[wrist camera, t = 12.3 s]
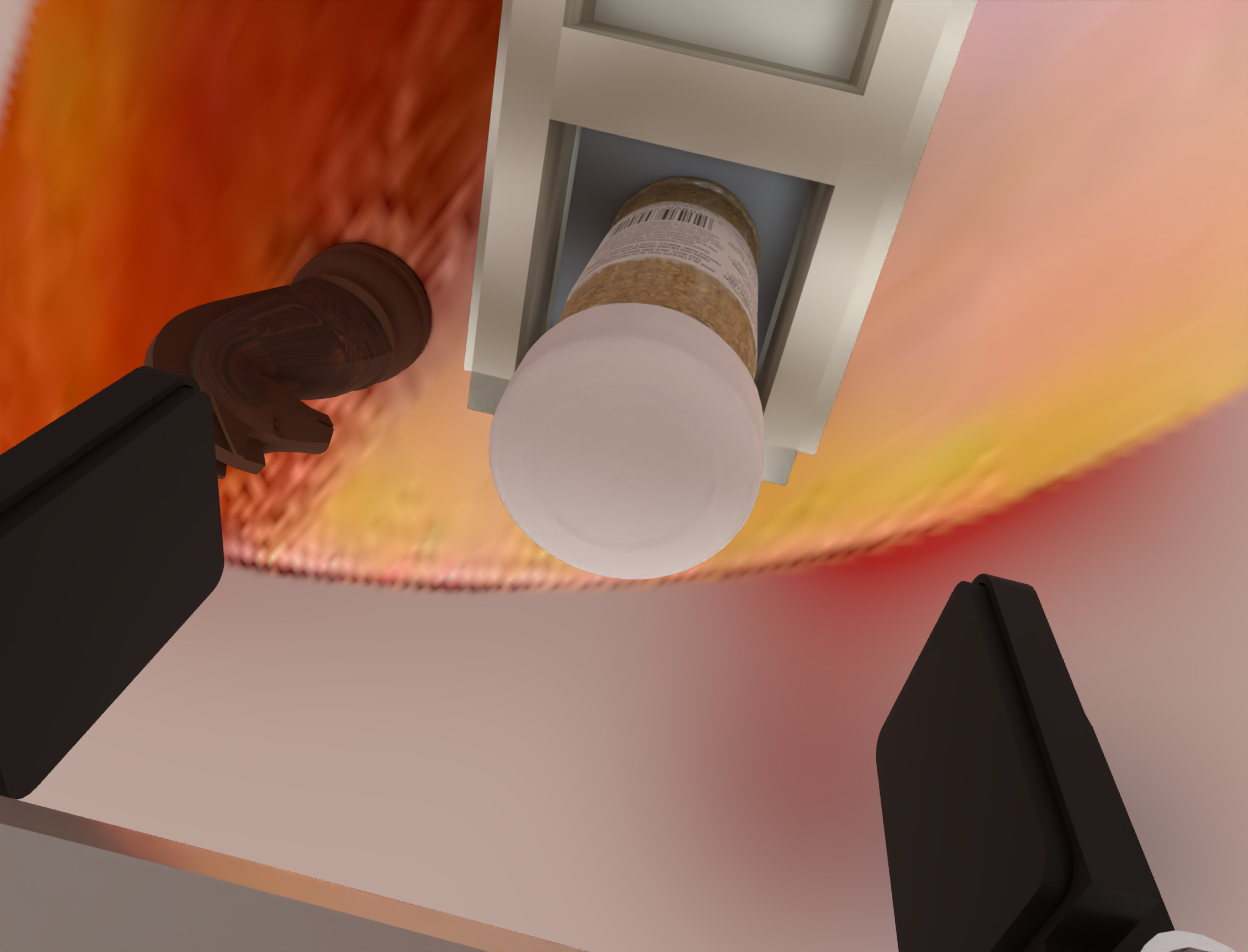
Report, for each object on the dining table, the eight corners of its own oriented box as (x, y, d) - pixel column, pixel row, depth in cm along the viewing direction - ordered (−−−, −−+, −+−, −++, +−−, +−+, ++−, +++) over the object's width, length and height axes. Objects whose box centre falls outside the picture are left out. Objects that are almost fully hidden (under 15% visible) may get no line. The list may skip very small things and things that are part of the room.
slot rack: (562, -450, 19) (503, -576, 15) (1088, -337, 19) (1182, -433, 15) (472, 358, 29) (422, 421, 25) (813, 441, 29) (821, 519, 25)
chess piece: (378, 396, 31) (227, 554, 22) (266, 291, 29) (58, 417, 21) (460, 315, 29) (328, 456, 20) (343, 200, 27) (148, 297, 19)
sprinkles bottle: (597, 307, 27) (468, 555, 15) (625, 154, 24) (497, 310, 13) (741, 340, 26) (723, 617, 15) (783, 191, 24) (800, 381, 12)
